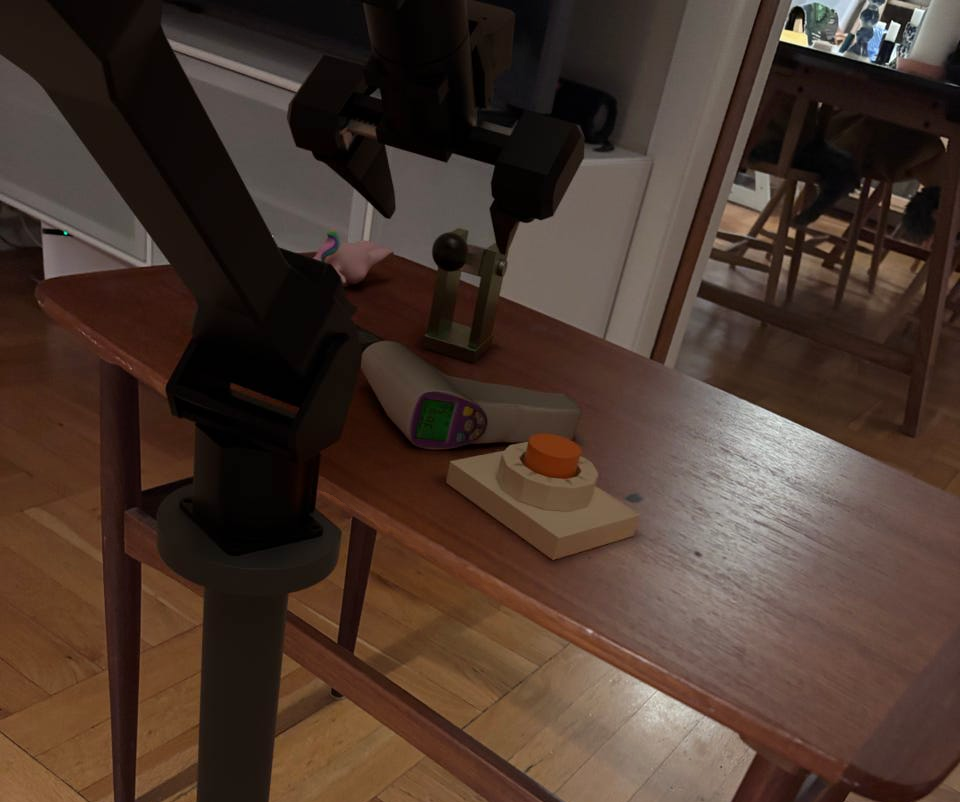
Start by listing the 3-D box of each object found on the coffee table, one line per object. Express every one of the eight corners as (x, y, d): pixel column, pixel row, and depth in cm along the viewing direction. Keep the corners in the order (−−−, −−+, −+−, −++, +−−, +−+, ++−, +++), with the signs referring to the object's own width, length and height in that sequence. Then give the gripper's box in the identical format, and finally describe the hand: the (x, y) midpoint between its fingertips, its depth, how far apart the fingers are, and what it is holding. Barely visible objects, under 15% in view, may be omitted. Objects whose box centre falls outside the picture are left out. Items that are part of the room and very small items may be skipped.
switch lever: (458, 274, 79) (467, 235, 78) (423, 264, 79) (432, 226, 78) (488, 282, 89) (497, 248, 88) (457, 273, 89) (465, 239, 88)
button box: (552, 560, 62) (565, 512, 60) (445, 482, 68) (454, 436, 66) (633, 536, 67) (648, 491, 65) (526, 465, 73) (537, 422, 71)
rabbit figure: (313, 318, 94) (409, 275, 104) (311, 257, 90) (412, 218, 100) (265, 297, 96) (364, 257, 106) (262, 237, 92) (365, 200, 102)
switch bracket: (478, 364, 89) (499, 254, 83) (417, 346, 90) (434, 236, 84) (496, 347, 94) (518, 242, 88) (438, 330, 94) (455, 224, 89)
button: (548, 485, 64) (554, 461, 63) (512, 460, 66) (517, 437, 65) (585, 476, 66) (592, 453, 65) (549, 453, 68) (555, 430, 67)
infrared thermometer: (576, 457, 78) (409, 453, 71) (505, 395, 86) (348, 384, 79) (594, 404, 76) (423, 393, 68) (519, 344, 84) (359, 329, 76)
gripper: (624, -28, 56) (610, 185, 71) (339, -96, 60) (382, 119, 75) (548, 109, 53) (550, 302, 67) (252, 27, 57) (314, 227, 71)
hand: (447, 231), depth 70 cm, fingers open, 9 cm apart
